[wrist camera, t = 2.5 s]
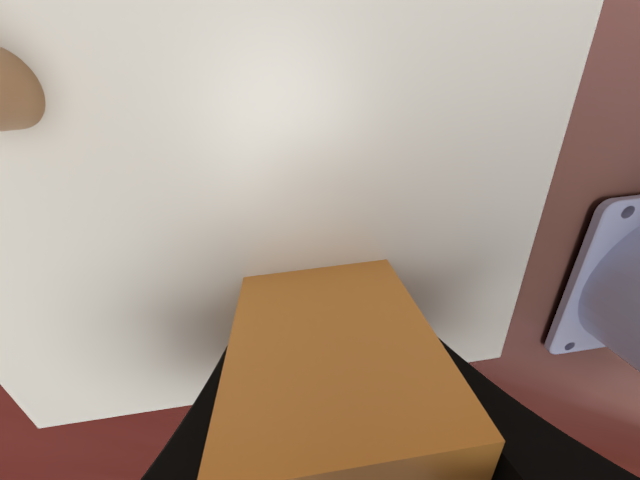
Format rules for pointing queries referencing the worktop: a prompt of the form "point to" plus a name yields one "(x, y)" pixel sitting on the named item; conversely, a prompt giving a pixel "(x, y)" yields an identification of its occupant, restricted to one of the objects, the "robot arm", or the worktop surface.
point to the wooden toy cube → (342, 386)
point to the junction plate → (261, 173)
